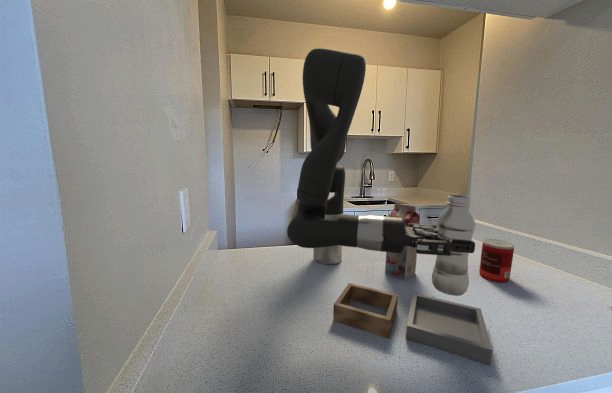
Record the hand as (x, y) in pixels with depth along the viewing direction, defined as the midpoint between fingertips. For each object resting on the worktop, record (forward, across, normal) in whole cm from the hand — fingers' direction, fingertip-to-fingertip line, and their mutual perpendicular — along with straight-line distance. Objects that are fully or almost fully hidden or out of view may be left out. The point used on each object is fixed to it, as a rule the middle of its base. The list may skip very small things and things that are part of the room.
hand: (467, 241), depth 51 cm
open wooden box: (-19, -1, -20) cm, 27 cm away
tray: (-2, 0, -20) cm, 20 cm away
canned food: (+19, -32, -20) cm, 42 cm away
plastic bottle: (-2, 0, -11) cm, 11 cm away
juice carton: (-9, -26, -20) cm, 34 cm away
